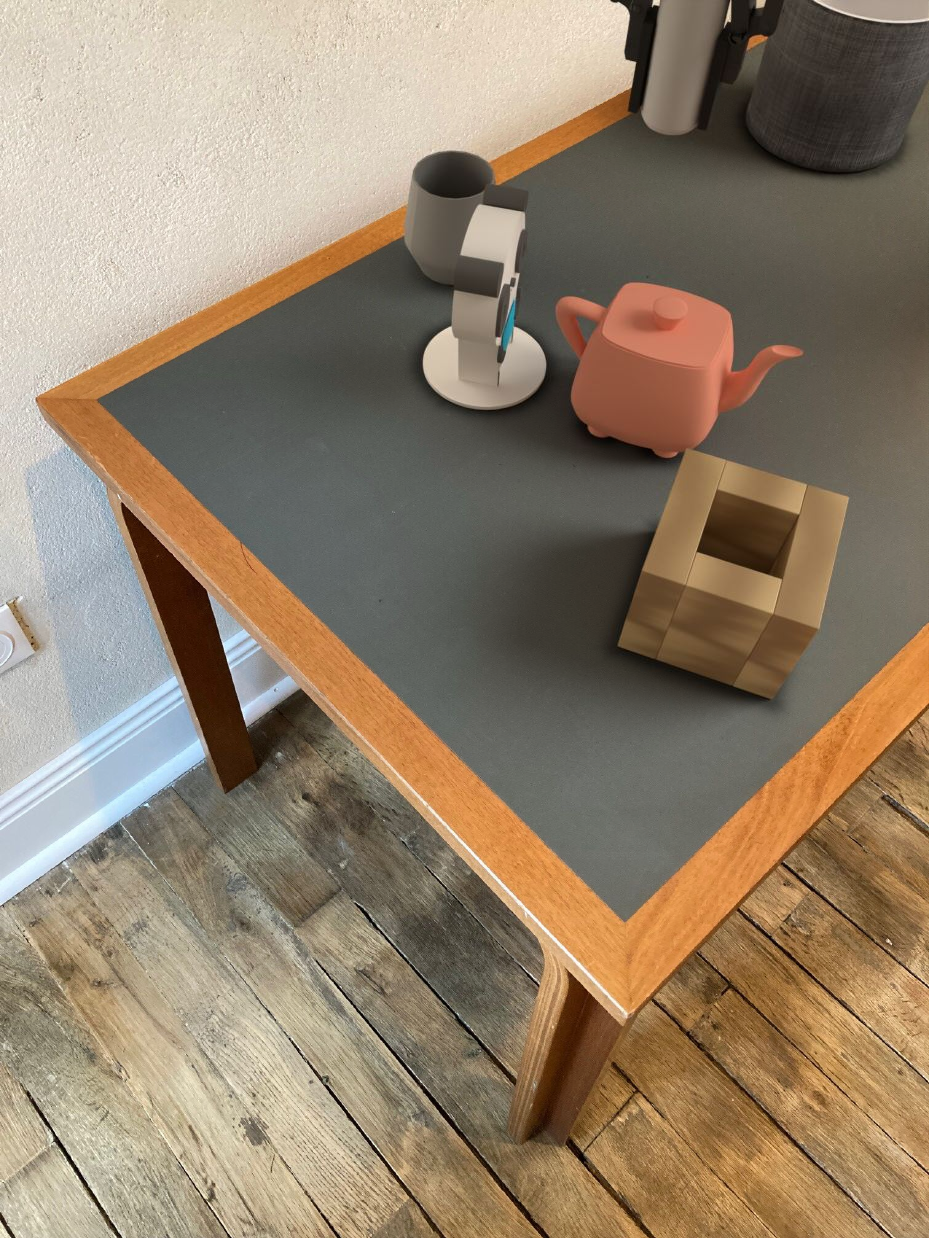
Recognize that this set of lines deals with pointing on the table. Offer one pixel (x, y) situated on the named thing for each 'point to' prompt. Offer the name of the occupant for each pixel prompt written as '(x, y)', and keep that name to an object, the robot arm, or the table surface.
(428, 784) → the table surface
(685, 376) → the teapot
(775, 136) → the planter
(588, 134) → the table surface
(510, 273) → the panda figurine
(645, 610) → the wooden box
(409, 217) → the cup
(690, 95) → the beverage can
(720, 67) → the robot arm
